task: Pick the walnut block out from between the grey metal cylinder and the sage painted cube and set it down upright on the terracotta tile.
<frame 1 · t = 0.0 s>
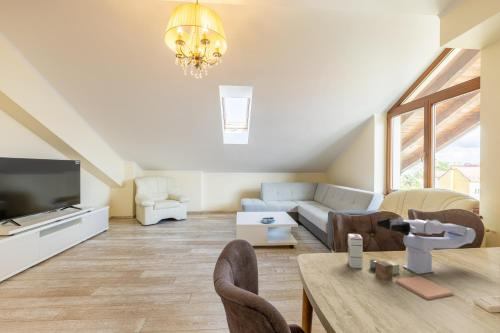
hand: (384, 225, 104), 22 cm above the table, tool horizontal, fingers open, 7 cm apart
syrup box: (354, 265, 113), on the table
terracotta tile: (423, 288, 93), on the table
grey metal cylinder: (374, 269, 109), on the table
sage painted cube: (391, 272, 106), on the table
walnut block: (383, 277, 102), on the table
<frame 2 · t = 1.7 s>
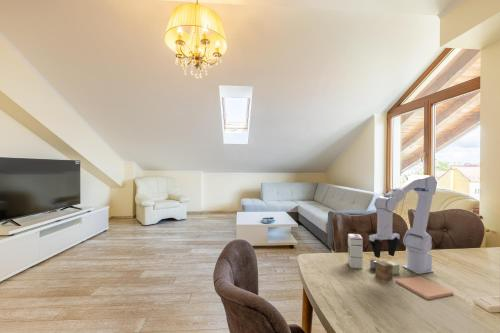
hand: (384, 256, 101), 9 cm above the table, tool pointing down, fingers open, 7 cm apart
nothing on the table moved.
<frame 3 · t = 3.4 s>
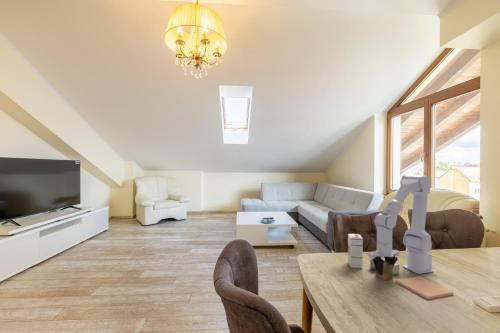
hand: (383, 273, 101), 2 cm above the table, tool pointing down, fingers closed on walnut block, 4 cm apart
walnut block: (383, 277, 102), on the table, touching gripper
everything else where it was.
when the fingers open (4 cm above the table, at t = 7.4 s): walnut block drops 1 cm, resting on terracotta tile.
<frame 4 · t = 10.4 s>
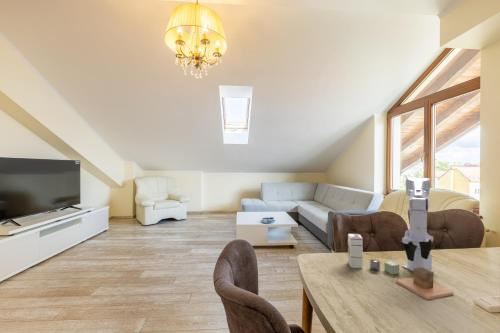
hand: (417, 259, 98), 9 cm above the table, tool pointing down, fingers open, 7 cm apart
walnut block: (423, 285, 93), point 1 cm above the table, touching terracotta tile
everything else where it was.
at the end: walnut block inside the target area on the terracotta tile (0.1 cm from its centre), point 1.0 cm above the terracotta tile's base; walnut block tilted 0°; the gripper is holding nothing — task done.
